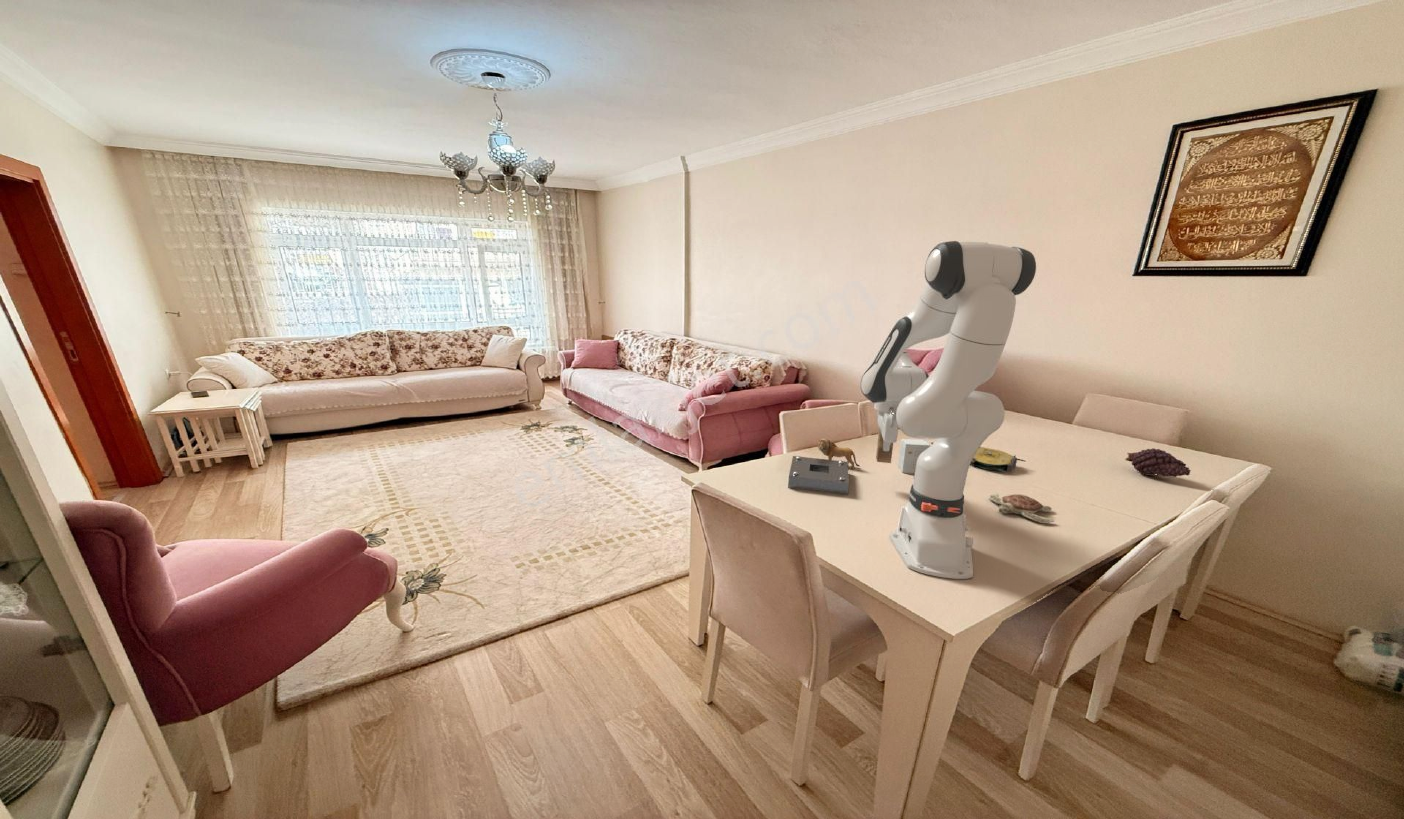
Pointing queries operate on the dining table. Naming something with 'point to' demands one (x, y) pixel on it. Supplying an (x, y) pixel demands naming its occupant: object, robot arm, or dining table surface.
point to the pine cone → (1157, 463)
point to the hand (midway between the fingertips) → (884, 447)
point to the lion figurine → (836, 451)
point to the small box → (910, 454)
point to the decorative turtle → (1021, 506)
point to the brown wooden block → (883, 455)
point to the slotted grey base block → (819, 475)
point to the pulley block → (993, 460)
